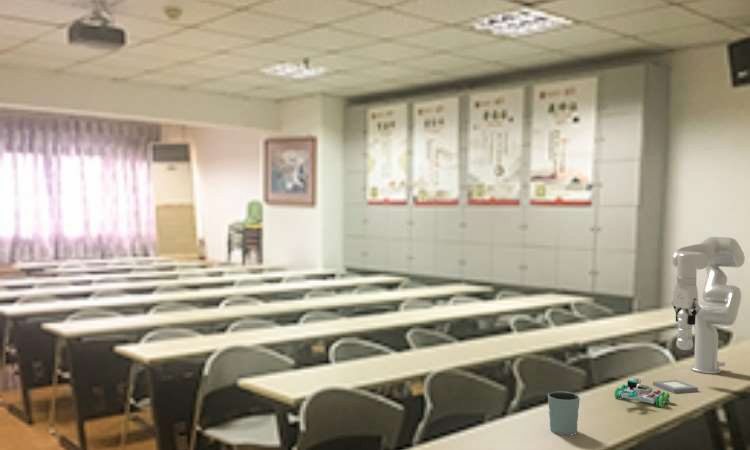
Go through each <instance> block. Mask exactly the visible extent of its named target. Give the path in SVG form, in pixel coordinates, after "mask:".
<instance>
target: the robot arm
mask: <svg viewBox="0 0 750 450" xmlns="http://www.w3.org/2000/svg"><path fill="white" fill-rule="evenodd" d="M671 262H672V265H673V266H674V267H675V268H676V270H677V273H676V274H677V275H676V283H675V285H674V290H673V298H672V301H671V306H672V307H673V309H674V313H675V322H677V323H678V317H677V314H678V312H679V311H680V310H681V308H685V309H688V311H689V314H690V315H688V324H689V325H692V326H694V360H693V361H694V362H693V363H694V364H692V365H690V370H691V371H692V372H696V373H700V374H708V375H710V374H711V375H715V374H721V373H722V369H721V368H720V367H725V366H726V363H725V361H718V353H719V352H718V351H719V350H718V348H719V332H718V330H717V328H716V327H715V326H714V325H720V326H725V327H726V326H727V327H728V326H729V327H730V326H733V325H734V324H735V323H736V319H737V316H738V312H739V309H740V305H741V301H742V292H741V288H739V287H738V286H736V285H731V284H727V282H728V276H727V275H726V273H725V272H724V271H723V270H722V269H721V268H720V267H724V268H725V267H726V268H740V267H742V266H743V265H744V264H745V254H744V251H743V249H742V247H741V245H740V244H739V242H738V241H737V240H736V239H734V238H733V237H726V236H724V237H723V236H710V237H707V238H706V239H704V240H703V241H701V242H700V243H695V244H692V245H687V246H683V247H680V248H678V249H677V250H676V251H675V252H674V253H673V255H672V259H671ZM704 269H705V271H706V274H707V275H706V281H705V283H704V288H703V291H702V296H701V297H702V300H703V301H704V302H703V301H701V302H699V292H698V286H697V272H698V271H697V270H704Z"/></svg>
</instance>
